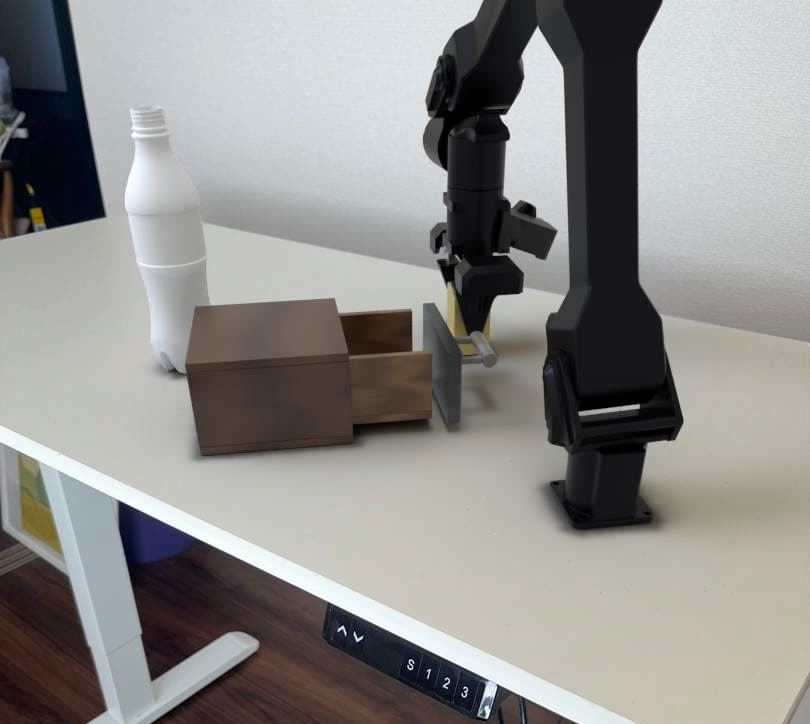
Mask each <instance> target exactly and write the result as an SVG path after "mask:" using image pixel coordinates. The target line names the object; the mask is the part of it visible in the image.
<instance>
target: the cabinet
mask: <svg viewBox="0 0 810 724" xmlns="http://www.w3.org/2000/svg"><path fill="white" fill-rule="evenodd" d="M339 313H340V312H339V308H338V306H337V301H336V298H335V297H328V298H311V299H310V298H309V299H296V300H295V299H294V300H277V301H263V302H262V301H261V302H246V303H245V302H244V303H231V304H230V303H229V304H214V305H213V304H211V306H196V307H195V310H194V316H193V321H192V327H191V332H190V338H189V343H188V349H187V354H186V360H185V369H186V374H185V375H186V379H187V386H188V390H189V397H190V402H191V409H192V414H193V420H194V427H195V432H196V439H197V443H198V448H199V454H200V456H211V455H223V454H225V455H226V454H236V453H247V452H259V451H261V452H262V451H272V450H284V449H285V450H286V449H296V448H297V449H298V448H308V447H309V448H310V447H322V446H334V445H344V444H345V445H346V444H353V443H354V426H353V425H354V424H353V423H352V405H351V386H350V368H349V352H348V348H347V344H346V341H345V337H344V333H343V329H342V325H341V321H340V317H339Z"/></svg>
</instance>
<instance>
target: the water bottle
mask: <svg viewBox="0 0 810 724" xmlns="http://www.w3.org/2000/svg"><path fill="white" fill-rule="evenodd" d="M129 113H130V118H131V123H132V126H131V130H132V133H131V138H132V139H134V143H135V144H134V146H135V147H134V149H135V151H134V158H133V162H132V166H131V168H130V172H129V175H128V179H127V183H126V186H125V191H124V209H125V211H126V212H127V217H128V223H129V228H130V234H131V238H132V239H131V240H132V243H133V249H134V253H135V260H136V264H137V266H138V268H139V271H140V274H141V276H142V279H143V283H144V286H145V291H146V294H147V295H146V296H147V299H148V305H149V313H150V342H151V346H152V350H153V352H154V355H155V357H156V359H157V360H158V362H159V364H160V365H161V366H162V367H163V368H164V369H165V370H167V371H172V370H173V369H176V371H177V372H179V373H180V374H183V375H186V369H185V360H186V354H187V349H188V343H189V338H190V332H191V327H192V321H193V316H194V310H195V307H196V306H211V305H212V304H211V300H210V295H209V287H208V275H207V262H208V253H207V248H206V241H205V233H204V228H203V227H204V226H203V220H202V213H201V207H200V206H201V200H200V195H199V193H198V190H197V188H196V186H195V184H194V183H193V182H192V179H191V178H190V176H189V175H188V173H187V171H186V169H184V167H183V165H182V163H180V160H179V159H178V158H177V156H176V155H175V153H174V151H173V148H172V145H171V142H170V138H169V137H171V132H170V131H169V130H168V128H169V126H168V125H167V124H166V116H165V111H164V106H161V105H144V106H134V107H130V108H129Z"/></svg>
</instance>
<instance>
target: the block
mask: <svg viewBox="0 0 810 724" xmlns="http://www.w3.org/2000/svg"><path fill="white" fill-rule="evenodd" d="M446 291H447V293H446V294H447V295H446V297H447V299H446V324H447V326H448V328H449V330H450V332H451V333H452V335H453V337H466V336H468V335H467V332H466V330H465V327H464V324H463V321H462V317H461V314H460V311H459V308H458V305H457V302H456V299H455V297H454V294H453V291H452V288H451V284H450V282H448V290H446ZM491 313H492V308H491V309H490V312H489V315H488V318H487V321H486V324H485V327H484V330H483V333H482V335H483V336H484V338H485V339H486V341H487V342H488V344H489V345H490V333H491ZM458 346H459V348H460V349H461V351H462V356H475V355H478V354H477V353H476V351H475V349H474V348H473V346H472V344H471V343H470V344H460V345H458Z"/></svg>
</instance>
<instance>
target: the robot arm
mask: <svg viewBox="0 0 810 724" xmlns="http://www.w3.org/2000/svg"><path fill="white" fill-rule="evenodd" d="M663 2H664V0H482V1H481V5H480V6H479V9H478V11H477V14H476V16H475V17H474V19H473V20H471V21H469V22H467V23H466V24H464V25H462V26H460V27H458V28H457V29H455V30H454V31H453V32H452V33H451V36H450V37H449V38H448V41H446V44H445V45H444V47H443V50H442V53H441V54H440V55H438V57H437V60H436V65H435V67H434V69H433V72H432V75H431V78H430V82H429V85H428V89H427V92H426V97H425V99H424V101H425V107H426V111H427V117H428V118H430V119H429V120H428V122H427V124H426V125H425V128H424V131H423V133H422V146H423V149H424V153H425V154H426V157H427V158H428V159H429V161H431V162H432V163H433V164H435V165H436V166H438V167H439V168H441V169H442V170H443V171H445V172H447V175H446V176H447V177H446V178H447V180H446V181H447V183H446V185H447V186H446V191H443V192H442V203H443V205H444V206H445V207H446V222H445V221H444V222H443V221H442V222H437V223H436V224H435V225H434V226H433V227H432V229H431V230H429V249H430V251H431V252H432V254H433V255H439V254H440V250H441V248H442V249H443V258H438V259H436V260H435V261H436V264H437V266H438V270H439V272H440V274H441V275H440V276H441V278H442V280H443V283H444V285H445V288H446V291H448V282H450V284H451V288H452V291H453V294H454V297H455V299H456V302H457V305H458V308H459V311H460V314H461V317H462V321H463V324H464V327H465V330H466V332H467V335H468V336H470V334H471V333H472V332H474V331H479V332H481V333H483V330H484V327H485V324H486V321H487V318H488V315H489V312H490V309H491V310H492V306H493V303H494V301H495V299H496V298H497V297H498V296H514V295H520V294H522V293H524V281H525V273H524V271H523V270H522V269H521V268H520V267H519V266H518V265H517V263H515V262H514V260H512V259H511V258H510V256H509V255H507V254H510V252H511V248H512V249H515V250H518V251H521V252H524V253H527V254H530V255H532V256H534V257H535V259H538V260H541V261H547V258H548V256H549V253H550V250H551V248H552V246H553V244H554V241H555V239H556V237H557V234H558V233H559V231H558V229H557V228H555V227H554V226H553V225H552V224H551V223H550V222H547V221H546V220H544V219H543V218H541V217H538V216H537V207H536V206H535V205H534V204H532V202H531V203H530V202H528V201H525V200H523V199H519V200H518V201H517V202H516V203H515V205H514V206H512V202H511V201H510V200H509V199H508V198H507V197H506V196H505V194H504V193H505V174H506V156H507V142H508V141H510V139H511V133H510V130H509V127H508V126H507V125H506V124H505V123H504V121H503V119H502V118H501V116H506V115H508V113H509V111H510V109H511V107H512V106H513V104H514V103H515V101H516V100H517V98H518V97H519V94H520V93H521V90H522V88H523V84H524V81H525V77H526V76H525V68H524V60H523V54H524V51H525V50H526V48H527V46H528V44H529V42H530V41H531V39H532V37H533V35H534V34H535V32H536V30H537V28H538V29H539V31H540V33H541V35H542V36H543V38H544V39H545V42H546V43H547V45H548V46H549V48H550V49H551V51H552V52H553V54H554V56H555V57H556V59H557V61H558V62H559V64H560V66H561V67H562V73H563V74H562V75H563V101H564V134H565V135H564V136H565V138H564V139H565V165H566V166H565V169H566V204H567V205H566V206H567V207H566V208H567V209H566V210H567V235H568V236H567V238H568V239H567V241H568V242H567V243H568V272H569V273H568V277H569V285H568V287H569V288H568V291H567V293H566V294H565V296H564V298H563V300H562V302H561V304H560V306H559V308H558V309H557V311H556V312H555V311H554V312H550V313H549V314H548V317H547V320H546V323H545V335H546V356H545V359H544V363H543V366H542V374H541V377H542V385H543V386H542V387H543V389H542V390H543V408H544V410H543V411H544V421H545V423H546V425H545V427H546V429H547V431H548V432H547V442H548V443H549V444H550V445H553V446H557V447H559V448H563V449H564V450H565V451H566V452H567V463H566V471H565V477H564V478H565V479H558V480H551V481H549V490H550V492H551V493H552V495H553V497H554V499H555V501H556V502H557V504H558V506H559V508H560V509H561V511H562V512H563V515H564V516H565V517H566V519H567V521H568V523H569V524H570V526H571V527H572V528H575V529H585V528H586V529H587V528H596V527H606V526H607V527H609V526H615V525H616V526H617V525H627V524H637V523H647V522H652V521H653V520H654V516H655V515H654V512H653V510H652V509H651V508H650V506H649V505H648V503H647V502H646V501H645V500H644V498H642V495H640V491H641V490H640V489H641V485H642V479H643V472H644V468H645V462H646V461H645V460H646V455H647V451H648V445H649V444H650V443H657V442H664V441H667V442H673V441H676V439H677V438H678V436H679V433H680V432H681V429H682V427H683V426H684V423H685V422H684V421H685V420H684V416H683V411H682V406H681V403H680V399H679V396H678V391H677V388H676V383H675V380H674V379H675V378H674V376H673V371H672V368H671V363H670V359H669V356H668V352H667V350H666V345H665V335H664V334H665V333H664V324H663V318H662V316H661V315H660V313H659V312H658V309H656V307H655V305H654V304H653V302H652V300H651V298H650V297H649V295H648V294H647V292H646V290H645V289H644V288H643V286H642V284H641V281H640V241H639V240H640V239H639V238H640V237H639V236H640V235H639V234H640V233H639V232H640V231H639V230H640V227H639V226H640V225H639V224H640V223H639V219H640V218H639V217H640V216H639V214H640V213H639V209H640V208H639V81H638V80H639V77H638V76H639V72H638V71H639V66H638V65H639V63H638V62H639V51H640V48H641V46H642V44H643V42H644V41H645V38H646V37H647V35H648V32H649V31H650V29H651V27H652V25H653V23H654V21H655V19H656V17H657V15H658V13H659V11H660V10H661V8H662V5H663ZM494 254H498V255H494ZM637 405H639V408H631V409H625V410H623V409H622V410H616V411H608V412H600V413H593V414H585V415H580V412H587V411H595V410H596V411H597V410H604V409H610V408H611V409H613V408H621V407H622V408H623V407H630V406H637Z"/></svg>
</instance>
